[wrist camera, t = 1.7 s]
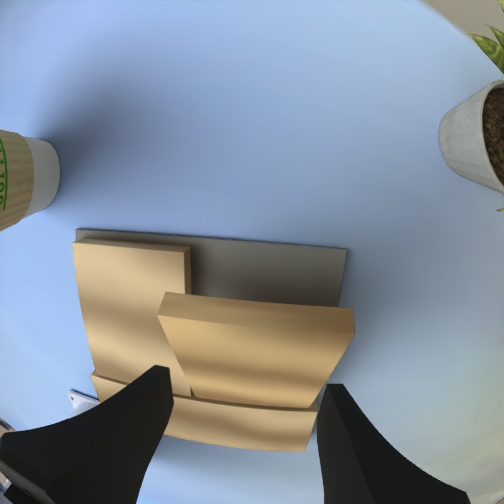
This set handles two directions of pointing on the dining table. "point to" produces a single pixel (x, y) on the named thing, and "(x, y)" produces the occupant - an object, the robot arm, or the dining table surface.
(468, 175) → the house plant
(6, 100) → the dining table surface
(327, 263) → the floor panel
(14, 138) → the coffee cup
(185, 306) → the oak plank
